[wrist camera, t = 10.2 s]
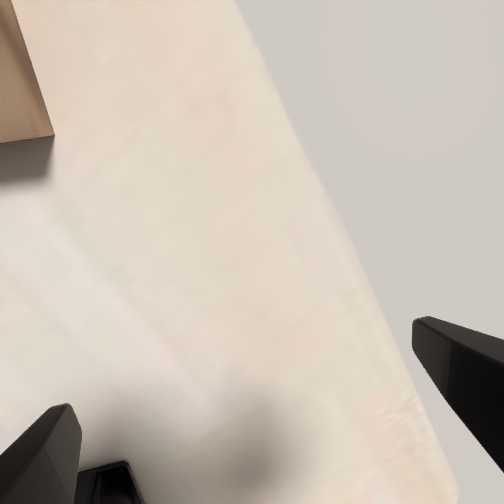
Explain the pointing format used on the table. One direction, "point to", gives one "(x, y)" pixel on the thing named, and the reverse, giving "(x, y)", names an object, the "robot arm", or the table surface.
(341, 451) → the table surface
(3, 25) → the walnut block
